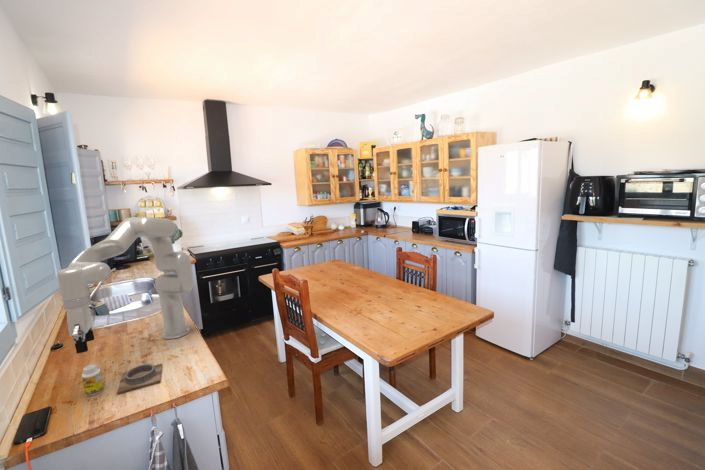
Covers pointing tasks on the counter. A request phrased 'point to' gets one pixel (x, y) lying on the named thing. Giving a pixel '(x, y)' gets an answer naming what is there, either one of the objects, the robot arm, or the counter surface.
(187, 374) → the counter surface
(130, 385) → the holder
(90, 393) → the supplement bottle
